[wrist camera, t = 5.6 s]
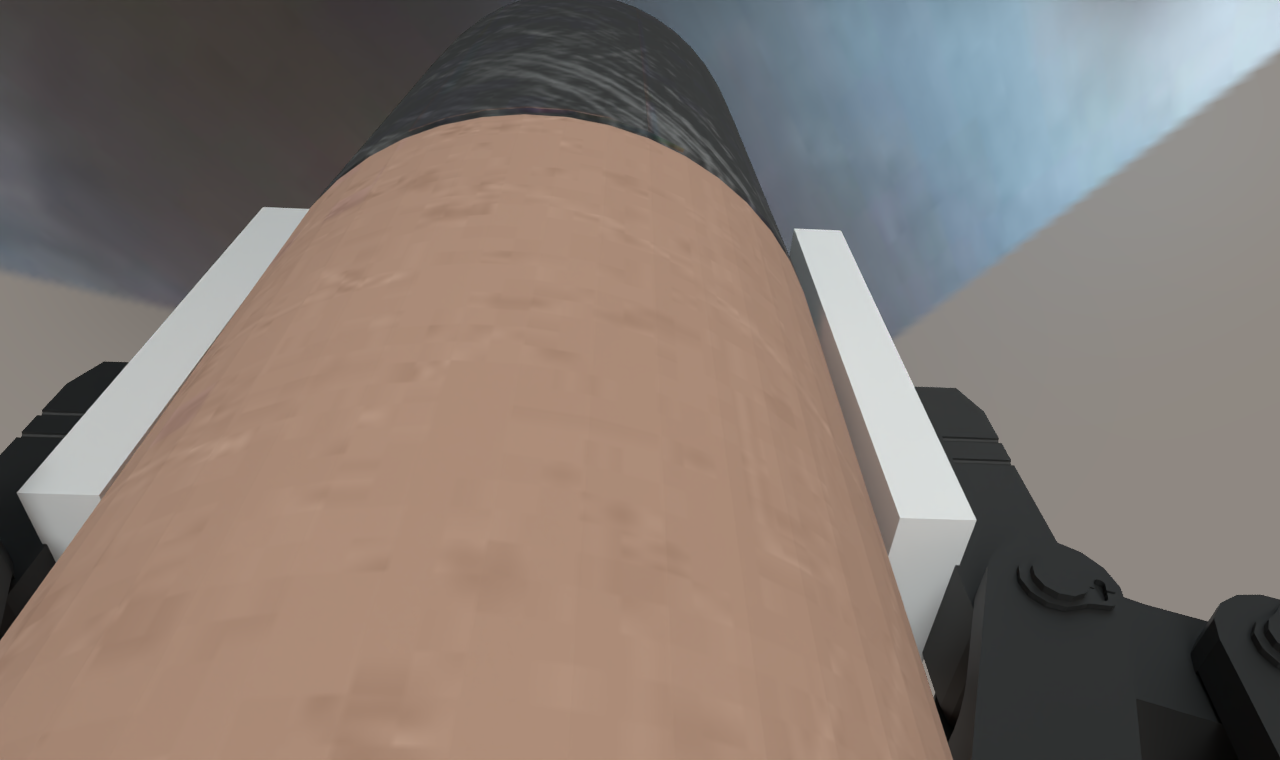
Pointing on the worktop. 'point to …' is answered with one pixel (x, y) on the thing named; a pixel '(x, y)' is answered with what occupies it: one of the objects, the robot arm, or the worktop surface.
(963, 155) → the worktop surface
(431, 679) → the travel mug
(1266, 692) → the robot arm
